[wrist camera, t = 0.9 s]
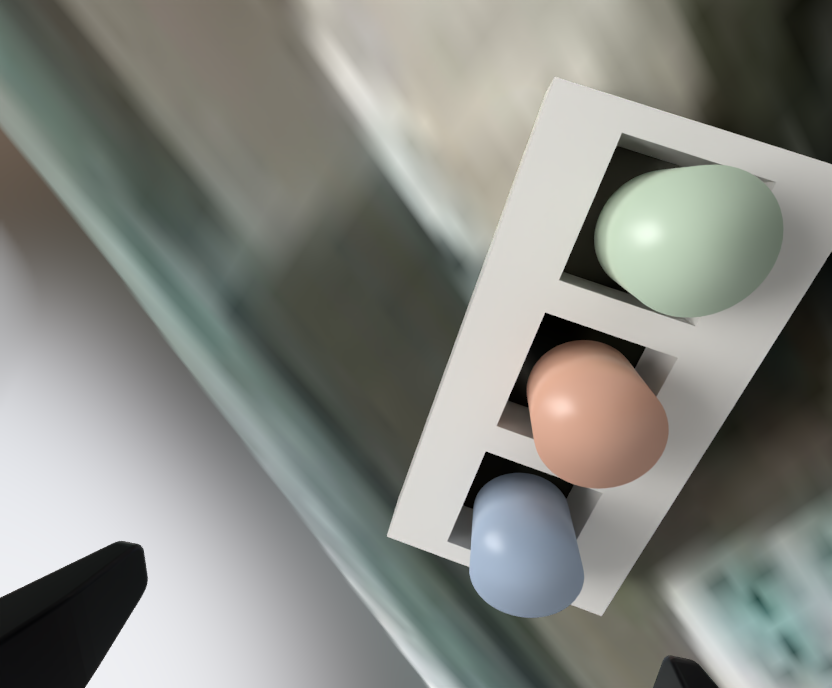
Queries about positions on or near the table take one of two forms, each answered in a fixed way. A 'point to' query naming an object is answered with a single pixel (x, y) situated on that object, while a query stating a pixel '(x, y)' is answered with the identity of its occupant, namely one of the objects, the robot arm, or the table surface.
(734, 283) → the sage button
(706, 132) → the panel
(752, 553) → the table surface
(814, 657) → the table surface
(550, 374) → the terracotta button
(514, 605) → the slate button
